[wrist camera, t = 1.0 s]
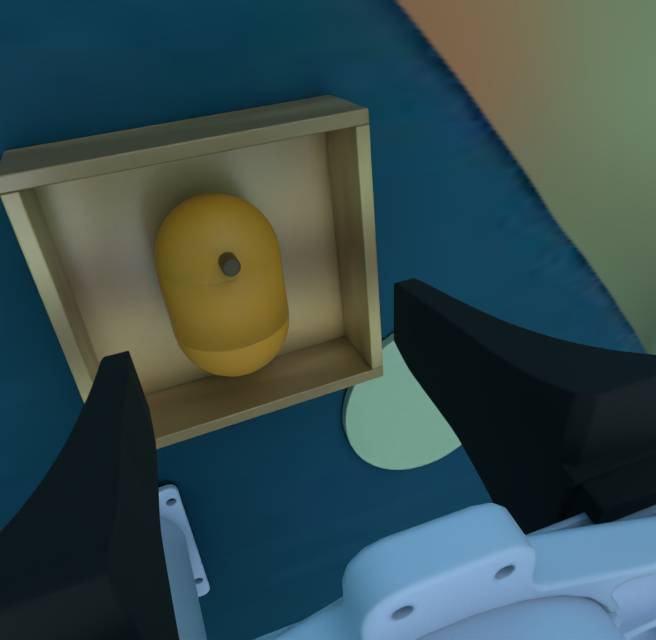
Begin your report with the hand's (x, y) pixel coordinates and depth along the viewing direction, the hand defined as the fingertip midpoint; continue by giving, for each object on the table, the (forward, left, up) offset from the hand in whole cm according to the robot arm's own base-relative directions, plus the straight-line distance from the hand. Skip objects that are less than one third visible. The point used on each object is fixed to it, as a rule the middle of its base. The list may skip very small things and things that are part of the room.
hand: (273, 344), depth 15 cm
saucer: (-15, -11, -12) cm, 22 cm away
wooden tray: (-3, 0, -12) cm, 12 cm away
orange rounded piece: (-3, 0, -12) cm, 12 cm away
